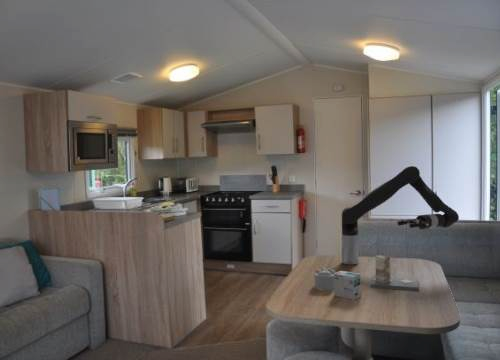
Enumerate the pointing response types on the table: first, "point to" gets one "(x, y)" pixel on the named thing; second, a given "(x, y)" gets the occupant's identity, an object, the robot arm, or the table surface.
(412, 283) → the charcoal board
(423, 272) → the table surface
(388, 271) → the pale ash block
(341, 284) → the light bulb box
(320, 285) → the lumpy-topped squat cylinder
